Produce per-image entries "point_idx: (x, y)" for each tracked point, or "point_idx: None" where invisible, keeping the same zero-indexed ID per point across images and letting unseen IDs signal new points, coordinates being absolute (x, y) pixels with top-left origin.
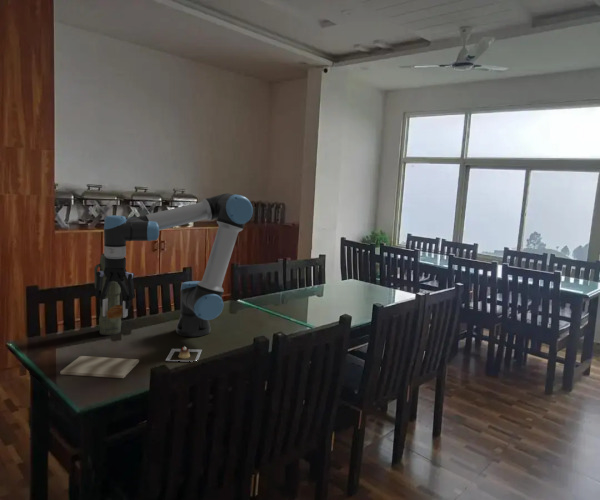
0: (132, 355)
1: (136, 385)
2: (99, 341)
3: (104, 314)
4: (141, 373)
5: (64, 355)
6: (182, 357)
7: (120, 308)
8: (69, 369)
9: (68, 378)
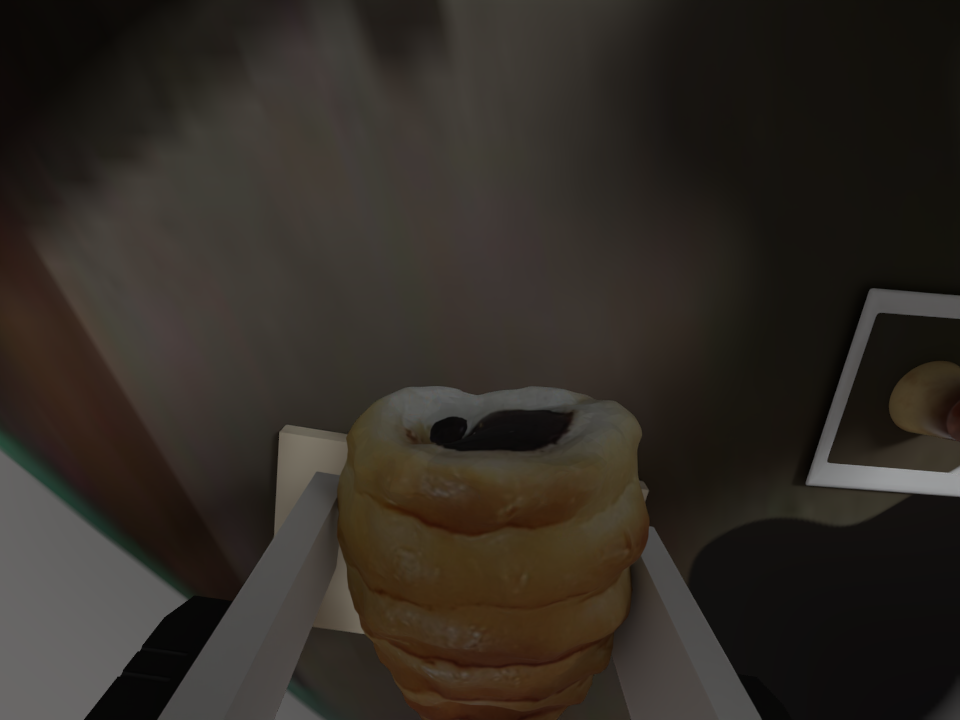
0: (592, 381)
1: None
2: (279, 84)
3: (324, 590)
4: None
5: (163, 375)
6: (915, 432)
7: (574, 643)
8: None
9: (335, 647)
